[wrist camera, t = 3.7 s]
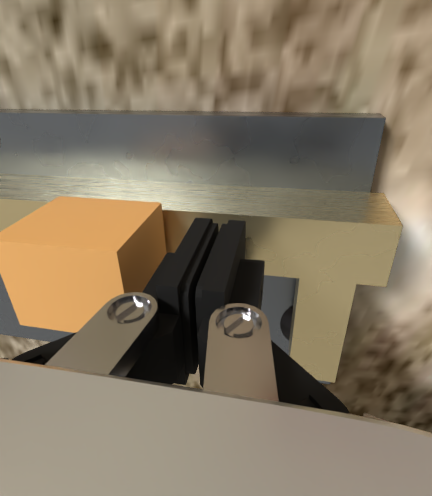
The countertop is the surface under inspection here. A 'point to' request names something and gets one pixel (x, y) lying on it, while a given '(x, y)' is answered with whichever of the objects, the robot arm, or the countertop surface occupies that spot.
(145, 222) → the sliding head
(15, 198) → the drilled steel plate with beam
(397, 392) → the countertop surface
